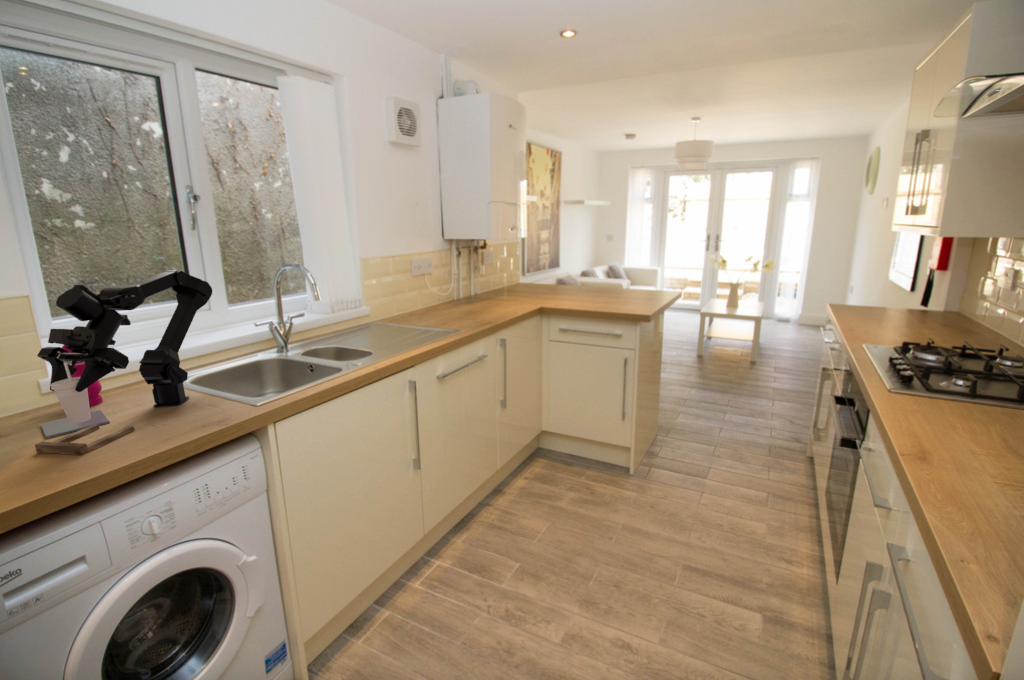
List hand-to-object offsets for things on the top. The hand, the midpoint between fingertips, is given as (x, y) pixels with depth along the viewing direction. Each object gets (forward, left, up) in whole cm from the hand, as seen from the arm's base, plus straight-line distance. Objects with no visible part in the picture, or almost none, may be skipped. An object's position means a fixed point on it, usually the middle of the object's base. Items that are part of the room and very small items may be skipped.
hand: (64, 391), depth 110 cm
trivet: (+10, -14, -13) cm, 21 cm away
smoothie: (-1, -1, -8) cm, 8 cm away
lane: (-1, -2, -13) cm, 13 cm away
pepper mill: (+17, -30, -13) cm, 37 cm away
